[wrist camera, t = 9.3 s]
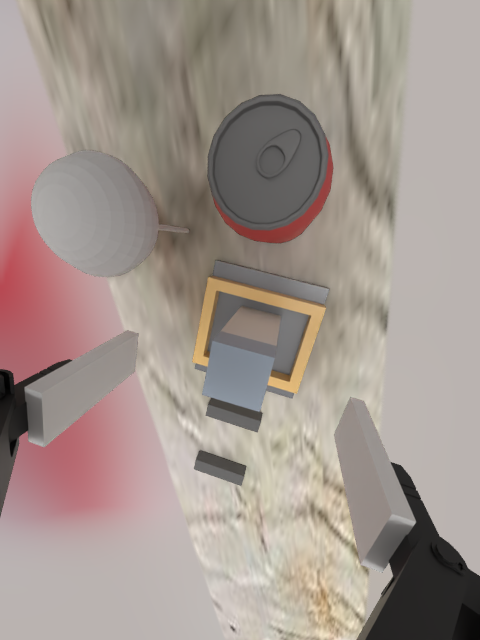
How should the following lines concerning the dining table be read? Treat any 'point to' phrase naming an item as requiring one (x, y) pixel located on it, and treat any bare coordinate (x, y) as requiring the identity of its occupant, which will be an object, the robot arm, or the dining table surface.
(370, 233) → the dining table surface
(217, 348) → the plug
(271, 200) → the beer can
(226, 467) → the dark gray parallel bars
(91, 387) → the robot arm
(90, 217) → the lollipop
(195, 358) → the panel
